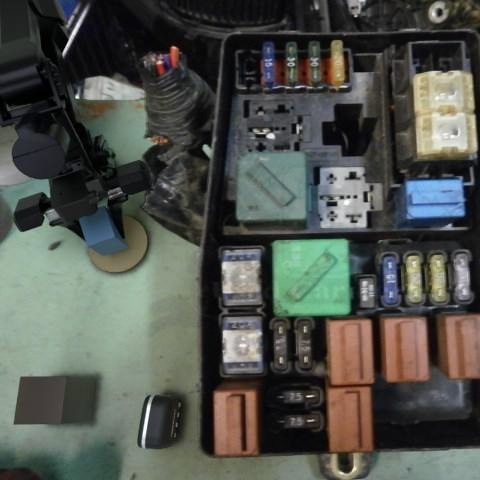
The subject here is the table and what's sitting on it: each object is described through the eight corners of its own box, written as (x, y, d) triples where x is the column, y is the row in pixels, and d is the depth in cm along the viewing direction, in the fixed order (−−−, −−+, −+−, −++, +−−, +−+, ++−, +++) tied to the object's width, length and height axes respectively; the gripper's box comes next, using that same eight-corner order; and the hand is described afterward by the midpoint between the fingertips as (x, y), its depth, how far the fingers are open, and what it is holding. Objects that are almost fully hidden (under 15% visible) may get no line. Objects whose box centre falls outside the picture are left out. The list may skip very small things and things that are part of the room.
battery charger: (182, 445, 79) (164, 452, 68) (156, 443, 79) (134, 450, 68) (189, 396, 81) (173, 395, 70) (164, 393, 81) (143, 393, 70)
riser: (50, 421, 80) (13, 424, 69) (56, 379, 81) (20, 376, 71) (92, 420, 80) (60, 424, 69) (96, 378, 82) (66, 376, 71)
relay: (103, 256, 83) (87, 246, 76) (94, 227, 84) (77, 214, 77) (128, 247, 84) (114, 236, 77) (119, 218, 85) (104, 205, 78)
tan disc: (79, 238, 88) (76, 236, 86) (130, 207, 89) (128, 204, 88) (108, 285, 86) (105, 283, 84) (159, 252, 87) (158, 250, 86)
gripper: (-24, 197, 65) (41, 294, 74) (127, 147, 68) (173, 247, 76) (-5, 163, 74) (50, 253, 83) (127, 121, 77) (168, 213, 85)
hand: (109, 242), depth 82 cm, fingers closed on relay, 4 cm apart
